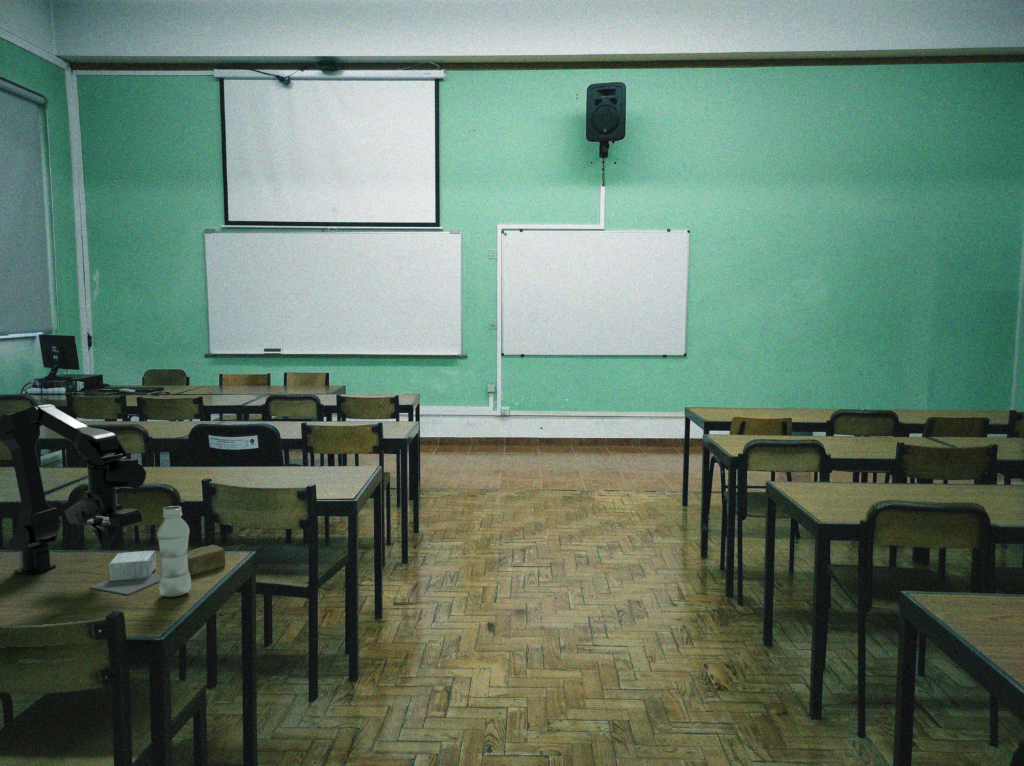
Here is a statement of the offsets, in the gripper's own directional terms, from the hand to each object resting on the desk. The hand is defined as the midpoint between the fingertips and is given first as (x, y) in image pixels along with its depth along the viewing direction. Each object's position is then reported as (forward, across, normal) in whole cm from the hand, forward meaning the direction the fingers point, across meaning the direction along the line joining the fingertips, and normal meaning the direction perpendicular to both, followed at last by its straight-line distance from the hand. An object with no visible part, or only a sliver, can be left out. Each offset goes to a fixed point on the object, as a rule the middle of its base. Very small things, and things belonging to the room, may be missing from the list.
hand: (106, 549), depth 168 cm
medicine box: (+4, 0, +1) cm, 5 cm away
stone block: (+8, +16, +13) cm, 22 cm away
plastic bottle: (+7, +24, -2) cm, 25 cm away
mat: (+7, +8, 0) cm, 10 cm away
